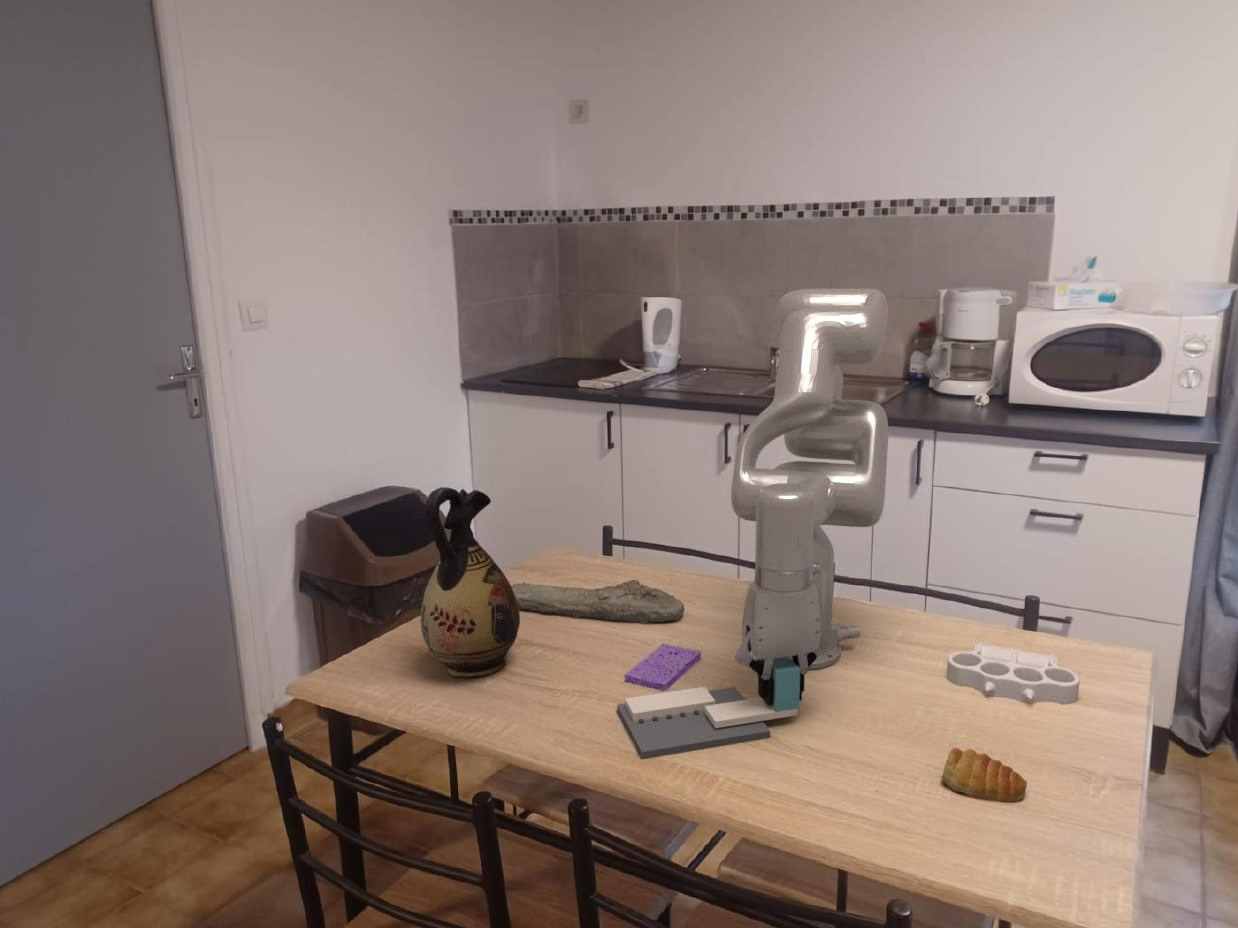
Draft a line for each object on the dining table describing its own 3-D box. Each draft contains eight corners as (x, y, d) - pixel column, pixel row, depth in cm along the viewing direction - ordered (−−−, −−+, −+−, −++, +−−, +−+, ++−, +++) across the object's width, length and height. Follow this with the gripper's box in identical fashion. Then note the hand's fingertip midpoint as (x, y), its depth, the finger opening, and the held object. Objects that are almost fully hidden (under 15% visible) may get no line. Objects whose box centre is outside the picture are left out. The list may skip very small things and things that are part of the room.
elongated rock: (513, 598, 180) (492, 621, 171) (509, 573, 179) (488, 595, 170) (690, 605, 170) (678, 630, 161) (688, 578, 168) (675, 602, 159)
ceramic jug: (470, 636, 160) (459, 467, 152) (541, 657, 151) (532, 479, 144) (396, 676, 146) (379, 492, 139) (468, 701, 138) (455, 507, 130)
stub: (785, 699, 133) (786, 654, 132) (798, 714, 129) (800, 668, 127) (704, 712, 130) (704, 666, 129) (715, 728, 126) (715, 680, 125)
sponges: (701, 661, 150) (701, 650, 149) (664, 694, 139) (664, 683, 139) (662, 652, 153) (662, 641, 153) (624, 684, 143) (623, 673, 142)
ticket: (704, 694, 136) (704, 686, 136) (717, 711, 131) (717, 703, 131) (625, 706, 133) (625, 698, 133) (635, 724, 128) (635, 716, 128)
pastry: (1029, 784, 115) (1032, 757, 114) (1019, 814, 109) (1022, 785, 108) (950, 763, 119) (952, 736, 118) (937, 790, 114) (939, 762, 113)
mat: (734, 692, 138) (735, 686, 138) (770, 737, 126) (770, 730, 126) (617, 710, 134) (617, 704, 134) (642, 758, 122) (641, 751, 122)
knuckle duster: (1078, 674, 142) (1076, 718, 130) (954, 653, 150) (941, 693, 137) (1080, 653, 141) (1079, 697, 129) (955, 633, 149) (942, 672, 137)
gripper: (826, 559, 131) (822, 678, 136) (715, 572, 127) (715, 694, 132) (852, 578, 124) (847, 703, 129) (735, 592, 120) (735, 720, 125)
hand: (780, 697), depth 130 cm, fingers closed on stub, 3 cm apart
